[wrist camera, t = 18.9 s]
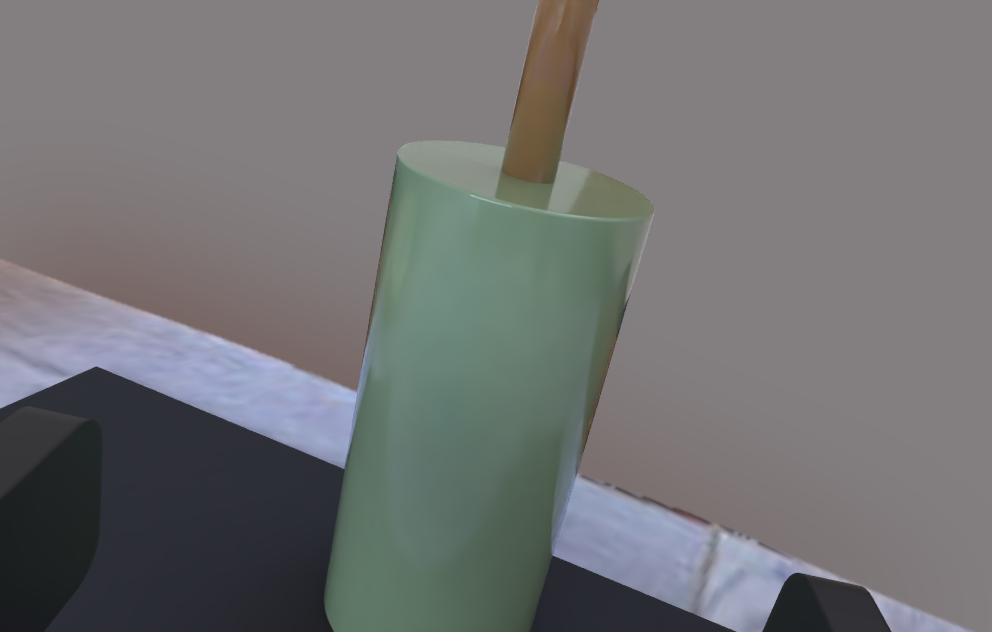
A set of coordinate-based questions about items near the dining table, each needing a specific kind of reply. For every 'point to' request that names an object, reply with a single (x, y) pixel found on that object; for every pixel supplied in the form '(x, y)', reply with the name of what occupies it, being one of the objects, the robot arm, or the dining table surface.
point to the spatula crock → (483, 362)
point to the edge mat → (247, 529)
